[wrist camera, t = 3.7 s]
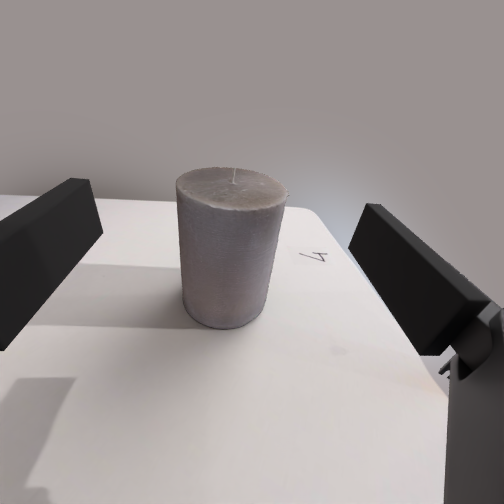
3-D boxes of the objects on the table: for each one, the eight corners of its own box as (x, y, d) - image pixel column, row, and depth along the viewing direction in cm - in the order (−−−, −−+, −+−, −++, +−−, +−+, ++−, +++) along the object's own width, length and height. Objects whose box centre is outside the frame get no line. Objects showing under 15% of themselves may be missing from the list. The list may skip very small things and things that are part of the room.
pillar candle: (190, 268, 33) (185, 149, 24) (263, 272, 33) (283, 159, 25) (174, 329, 25) (157, 184, 16) (270, 332, 26) (302, 197, 17)
